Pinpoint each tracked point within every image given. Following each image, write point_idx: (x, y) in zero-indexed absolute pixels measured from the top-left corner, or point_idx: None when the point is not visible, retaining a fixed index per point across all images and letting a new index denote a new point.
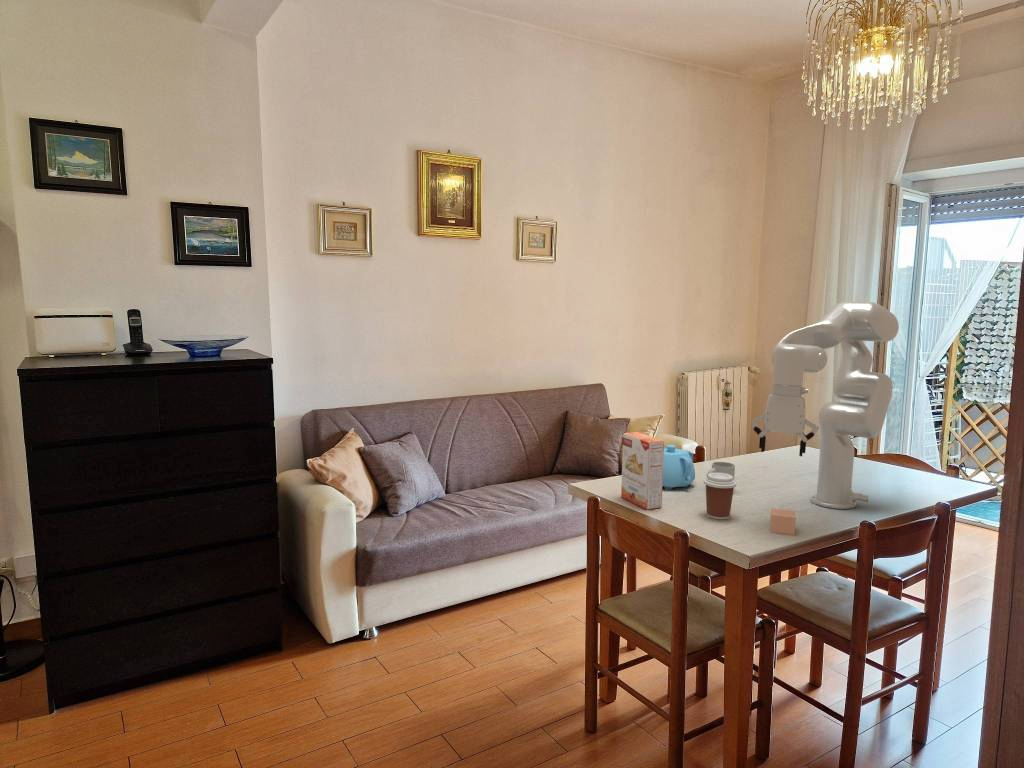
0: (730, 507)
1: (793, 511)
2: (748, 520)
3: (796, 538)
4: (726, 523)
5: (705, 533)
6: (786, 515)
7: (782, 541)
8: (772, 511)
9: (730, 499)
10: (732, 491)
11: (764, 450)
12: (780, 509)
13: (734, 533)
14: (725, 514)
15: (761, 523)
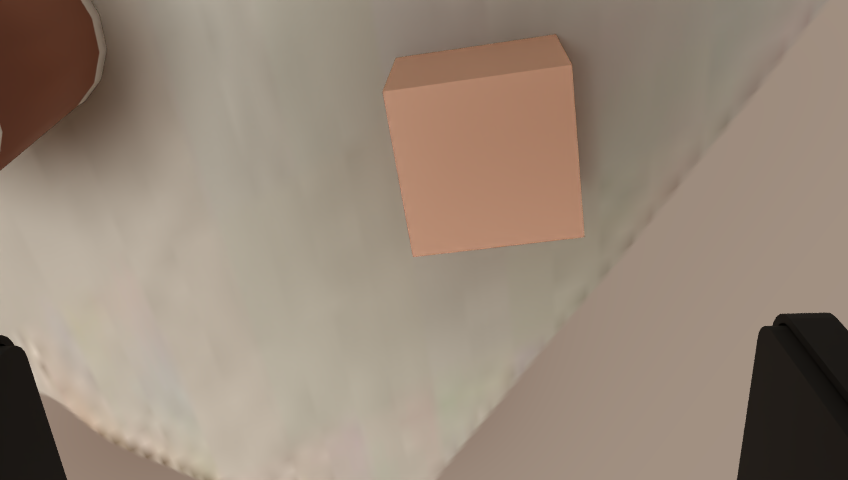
0: (71, 61)
1: (563, 85)
2: (237, 25)
3: None
4: (135, 170)
5: (108, 387)
6: (515, 217)
7: (504, 322)
8: (405, 171)
9: (38, 107)
10: (6, 115)
11: (47, 438)
12: (457, 83)
13: (237, 320)
14: (78, 98)
15: (334, 47)
